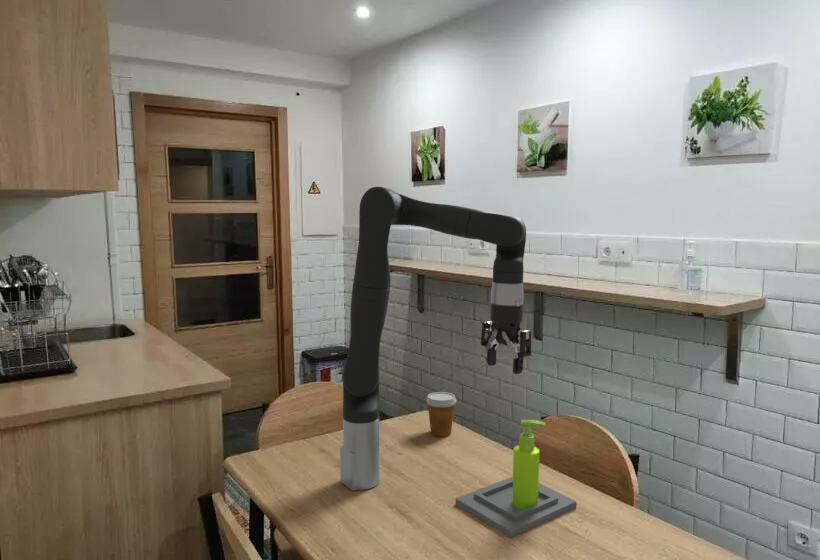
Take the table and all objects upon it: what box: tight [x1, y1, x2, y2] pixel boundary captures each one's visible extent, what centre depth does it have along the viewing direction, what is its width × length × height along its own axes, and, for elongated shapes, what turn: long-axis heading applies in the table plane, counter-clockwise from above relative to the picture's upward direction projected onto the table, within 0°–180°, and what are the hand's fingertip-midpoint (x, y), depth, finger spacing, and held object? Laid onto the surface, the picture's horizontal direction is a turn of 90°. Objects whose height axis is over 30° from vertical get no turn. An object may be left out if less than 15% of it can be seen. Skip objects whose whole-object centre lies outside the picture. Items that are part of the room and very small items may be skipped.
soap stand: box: [455, 476, 577, 538], centre depth 139 cm, size 22×18×2 cm
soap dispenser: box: [512, 419, 546, 509], centre depth 135 cm, size 6×7×20 cm
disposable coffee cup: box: [425, 391, 457, 438], centre depth 184 cm, size 10×10×12 cm
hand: (504, 369), depth 139 cm, fingers open, 8 cm apart
